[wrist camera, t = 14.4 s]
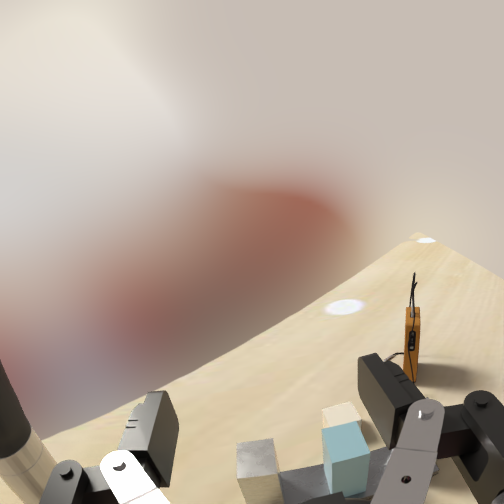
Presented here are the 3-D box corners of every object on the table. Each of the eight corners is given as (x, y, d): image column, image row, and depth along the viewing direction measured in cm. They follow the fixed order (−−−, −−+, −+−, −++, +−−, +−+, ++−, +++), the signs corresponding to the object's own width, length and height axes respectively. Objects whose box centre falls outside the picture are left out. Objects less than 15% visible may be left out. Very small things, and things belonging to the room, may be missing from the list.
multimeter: (372, 353, 65) (370, 267, 60) (416, 353, 60) (419, 264, 56) (362, 395, 52) (360, 297, 48) (414, 396, 47) (422, 295, 43)
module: (332, 499, 31) (331, 463, 29) (323, 467, 37) (321, 427, 35) (365, 491, 31) (370, 452, 29) (354, 460, 37) (355, 419, 35)
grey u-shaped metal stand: (250, 522, 30) (234, 485, 28) (248, 479, 38) (234, 438, 36) (437, 473, 30) (453, 427, 28) (417, 439, 38) (426, 392, 36)
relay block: (331, 445, 42) (330, 428, 41) (322, 425, 47) (321, 409, 46) (360, 436, 42) (361, 419, 42) (350, 417, 47) (350, 400, 46)
